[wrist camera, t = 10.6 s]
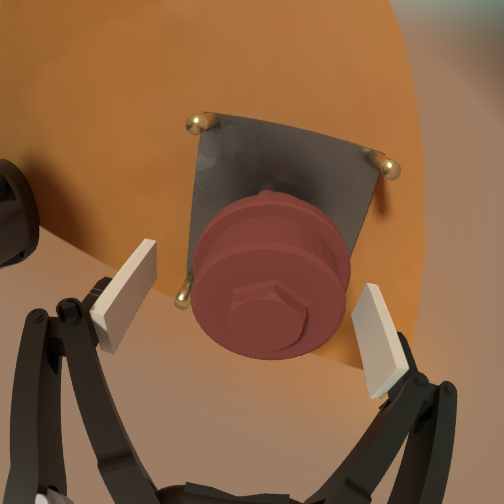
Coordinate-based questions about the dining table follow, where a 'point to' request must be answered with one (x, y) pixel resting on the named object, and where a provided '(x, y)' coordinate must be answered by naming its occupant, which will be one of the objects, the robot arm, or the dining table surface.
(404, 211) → the dining table surface
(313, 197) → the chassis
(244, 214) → the mechanical component
